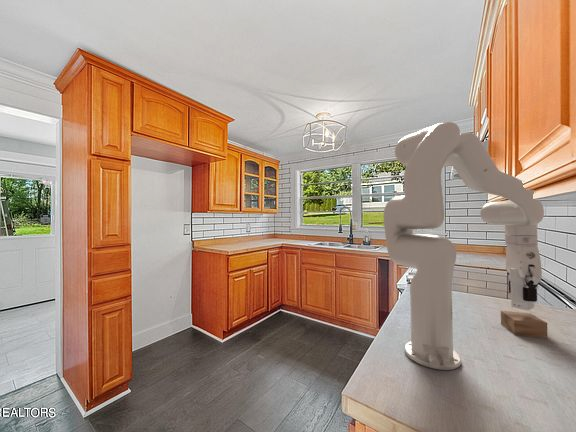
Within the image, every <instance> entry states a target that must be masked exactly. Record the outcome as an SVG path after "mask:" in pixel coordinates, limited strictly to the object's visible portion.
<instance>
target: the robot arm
mask: <svg viewBox="0 0 576 432" xmlns="http://www.w3.org/2000/svg"><path fill="white" fill-rule="evenodd" d="M394 155H395V157H396V160H397V161H398V162H399V163H400V164H402V165H403V166H405V169H404V173H403V187H404V190H403V191H404V195H399V196H395V197H393V198H390V199H389V201H388V202H387V203H386V204H385V207H384V210H383V215H382V216H383V226H384V227H383V228H384V234H385V243H386V251H387V254H388V256H389V258H390V260H391V261H392V262H394V264H397V265H399V266H403V267H406V268H407V267H408V268H412V269H415V270H416V271H415V272H416V273H415V274H414V276H413V278H412V279H411V281H410V284H409V285H410V286H409V296H410V298H409V300H410V303H409V305H410V341H408V342H407V343H406V344H405V345H404V352H405V355H406V356H407V357H408V358H409V359H410V360H412V361H414V362H415V363H417V364H419V365H421V366H424V367H427V368H430V369H435V370H441V371H450V370H455V369H457V368H459V367H460V366H461V364H462V362H461V361H462V360H461V359H462V358H461V356H460V354H459V353H457V352H456V351H455V350H454V332H453V329H454V326H453V323H454V322H453V274H454V270H455V265H456V261H457V260H456V259H457V249H456V248H455V247H456V246H455V245H454V243H453V242H452V241H451V240H450V239H448V238H447V237H444V236H441V235H438V234H427V233H425V234H424V233H414V231H413V230H420V231H421V230H424V231H425V230H427V231H428V230H434V229H439V228H440V227H441V226H442V225H443V223H444V220H445V208H444V207H445V206H444V196H443V189H442V187H443V186H442V170H443V168H447V167H453V168H454V170H455V171H456V173H457V174H458V176H459V177H460V179H461V180H462V182H463V183H464V185H465V186H466V187H467V188H468V189H469V190H472V191H477V192H481V193H483V194H488V195H494V196H498V197H501V198H503V199H506V200H499V201H491V202H487V203H486V204H484V205H483V206H482V207H481V208H480V213H479V214H480V218H481V221H483V222H485V223H486V224H488V225H492V226H504V240H505V241H504V242H505V243H504V244H505V245H506V250H505V251H506V252H505V253H506V254H505V269H506V274H507V280H508V293H509V294H511V285H510V269H511V268H513V269H516V273H517V276H518V277H520V278H522V280H523V284H524V287H523V300H524V301H533V302H534V303H536V302H538V288H539V285H540V282H541V280H542V278H543V276H542V275H543V274H542V273H543V272H542V261H541V256H540V255H541V254H540V251H539V245H538V243H539V242H538V241H539V240H538V224H539V223H541V222H542V221H543V219H544V216H545V208H544V205H543V204H542V202H541V199H540V200H535V199H533V194H534V191H535V190H534V189H533V190H526V189H525V188H524V187H523V183H522V181H523V180H521V179H519V178H517V177H515V176H513V175H512V174H509V173H506V172H504V171H501V170H500V169H499V168H498V167H497V165H496V163H495V162H494V161H493V159H492V157H491V155H490V153H489V152H488V150H487V149H486V148H485V146H484V144H483V143H482V141H481V140H480V138H479V137H478V135H476V134H475V133H473V132H468V131H467V132H461V129H460V126H459V125H458V124H456V123H455V122H452V121H444V122H440V123H436V124H434V125H432V126H431V125H430V126H428V127H426V128H423V129H421V130H419V131H417V132H413V133H411V134H408V135H406V136H404V137H402V138H401V139H400V140H399V141H397V143H396V144H395V148H394ZM526 275H527V276H531V277H526ZM527 280H530V281H529V282H527Z"/></svg>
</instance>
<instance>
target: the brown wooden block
mask: <svg viewBox="0 0 576 432" xmlns="http://www.w3.org/2000/svg"><path fill="white" fill-rule="evenodd" d="M500 324H501V326H503V327H504V328H505V329H507V330H508V331H509V332H510V333H512V334H513V335H514V336H522V337H532V338H539V339H540V338H542V339H548V322H546V321H545V320H543V319H541V318H539V317H538V316H536V315H534V314H532V313H531V312H521V311H520V312H519V311H507V310H500Z"/></svg>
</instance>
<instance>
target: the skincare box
mask: <svg viewBox="0 0 576 432" xmlns="http://www.w3.org/2000/svg"><path fill="white" fill-rule="evenodd" d="M526 277H531V276H527V275H526ZM529 281H530V280H527V282H529ZM510 285H511V293H510V305H511V307H512V308H515V309H519V310H523V311H530V310H532V309H534V308H535V302H533V301H524V300H523V287H524V284H523V280H522V278H520V277H518V276H517V273H516V269H513V268H511V269H510Z"/></svg>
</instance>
